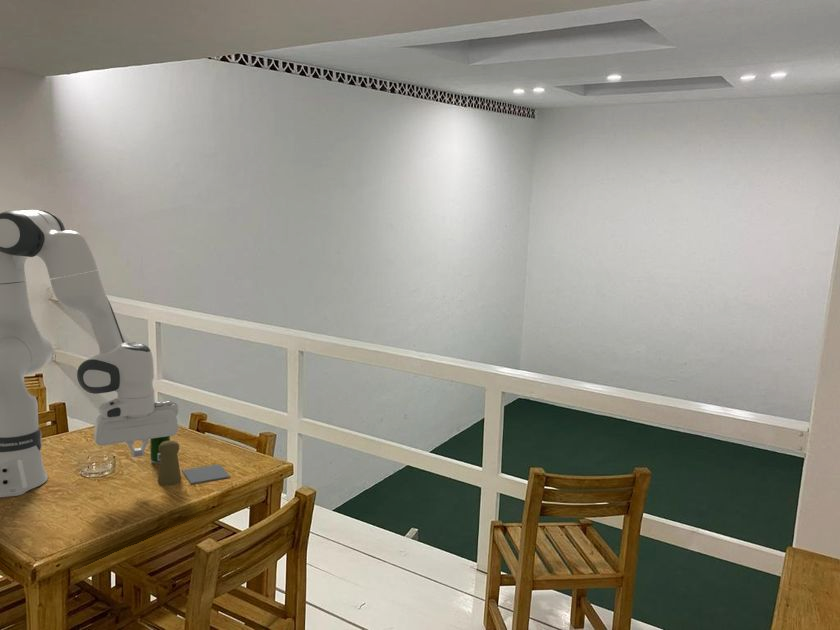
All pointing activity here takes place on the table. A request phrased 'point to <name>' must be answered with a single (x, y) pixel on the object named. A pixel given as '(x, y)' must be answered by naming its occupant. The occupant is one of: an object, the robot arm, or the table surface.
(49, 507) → the table surface
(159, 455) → the beer can
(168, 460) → the cork
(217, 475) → the mat
